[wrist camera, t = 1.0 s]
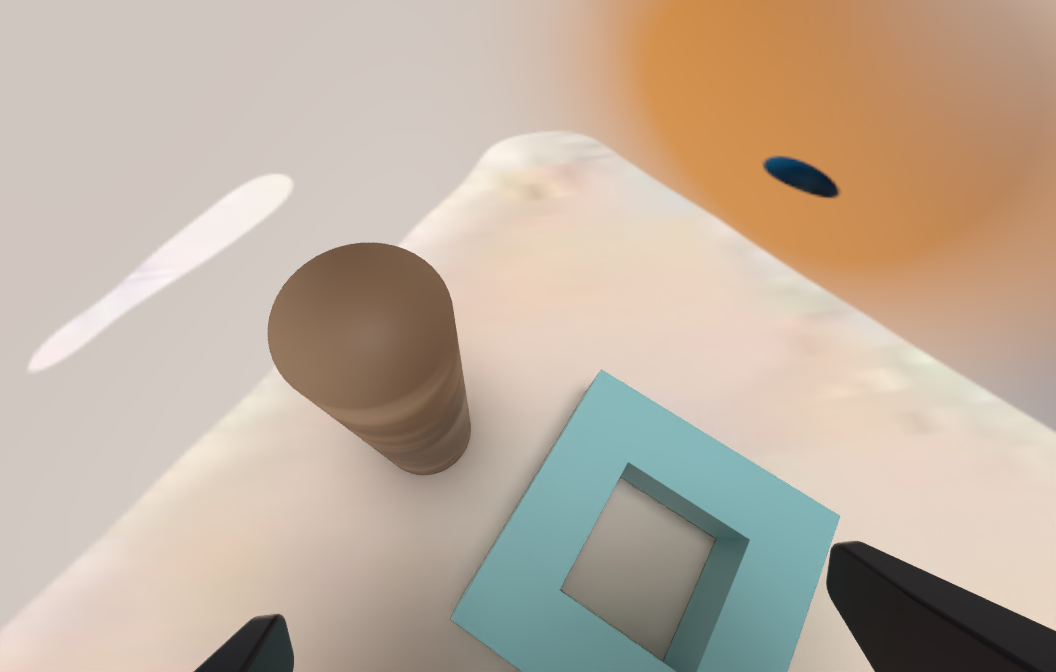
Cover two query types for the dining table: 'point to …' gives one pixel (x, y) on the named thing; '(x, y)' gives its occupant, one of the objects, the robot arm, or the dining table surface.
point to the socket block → (687, 489)
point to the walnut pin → (376, 351)
